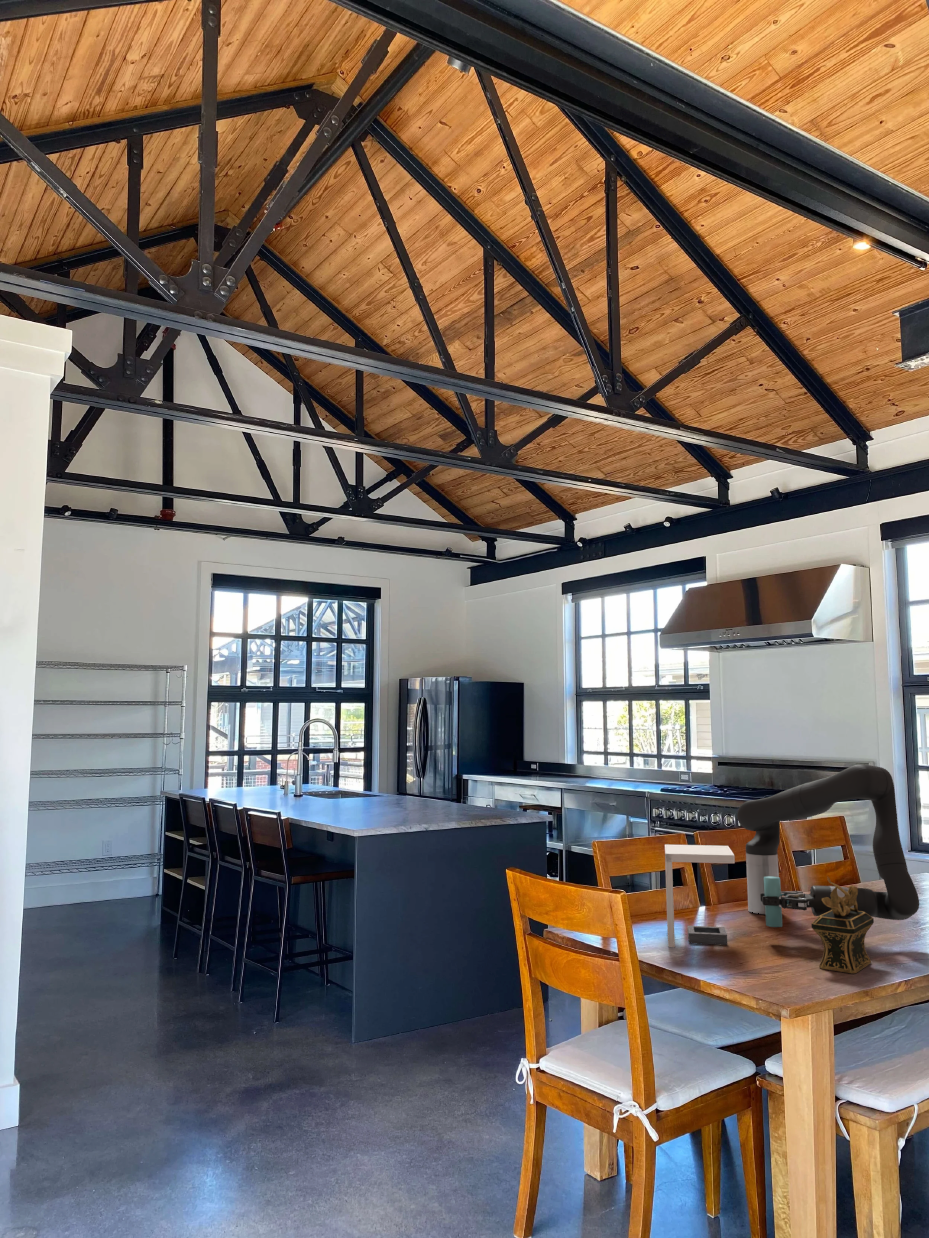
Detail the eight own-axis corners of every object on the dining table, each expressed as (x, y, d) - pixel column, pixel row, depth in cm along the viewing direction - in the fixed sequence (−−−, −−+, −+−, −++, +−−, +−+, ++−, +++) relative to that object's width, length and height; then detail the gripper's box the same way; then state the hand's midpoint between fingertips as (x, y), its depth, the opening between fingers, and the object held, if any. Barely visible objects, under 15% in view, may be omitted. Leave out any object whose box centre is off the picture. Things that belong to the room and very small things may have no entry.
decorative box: (835, 955, 214) (830, 872, 216) (877, 962, 207) (872, 875, 210) (806, 972, 198) (801, 882, 201) (851, 980, 192) (845, 886, 195)
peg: (765, 923, 230) (762, 876, 231) (781, 924, 229) (778, 876, 230) (767, 926, 226) (764, 878, 227) (783, 927, 225) (781, 879, 227)
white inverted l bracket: (738, 950, 219) (734, 855, 222) (668, 946, 223) (665, 853, 226) (731, 932, 238) (728, 845, 242) (667, 930, 242) (664, 844, 245)
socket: (687, 935, 236) (687, 925, 236) (724, 936, 234) (724, 926, 234) (689, 943, 227) (688, 933, 227) (727, 944, 225) (727, 934, 225)
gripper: (825, 881, 233) (757, 879, 236) (836, 890, 219) (763, 888, 222) (827, 911, 232) (759, 908, 235) (838, 922, 218) (765, 919, 221)
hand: (761, 899), depth 229 cm, fingers closed on peg, 4 cm apart
